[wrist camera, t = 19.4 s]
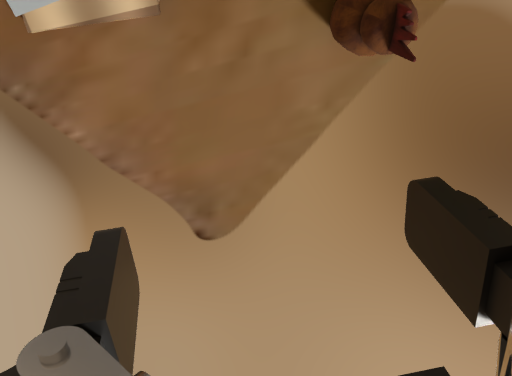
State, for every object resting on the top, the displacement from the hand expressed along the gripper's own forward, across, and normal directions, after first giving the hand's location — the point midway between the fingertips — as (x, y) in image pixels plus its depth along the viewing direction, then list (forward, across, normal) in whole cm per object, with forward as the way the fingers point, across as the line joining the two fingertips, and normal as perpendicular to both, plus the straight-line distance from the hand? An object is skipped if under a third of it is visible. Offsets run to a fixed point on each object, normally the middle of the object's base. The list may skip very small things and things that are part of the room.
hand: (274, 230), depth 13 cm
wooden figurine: (+38, +16, 0) cm, 42 cm away
